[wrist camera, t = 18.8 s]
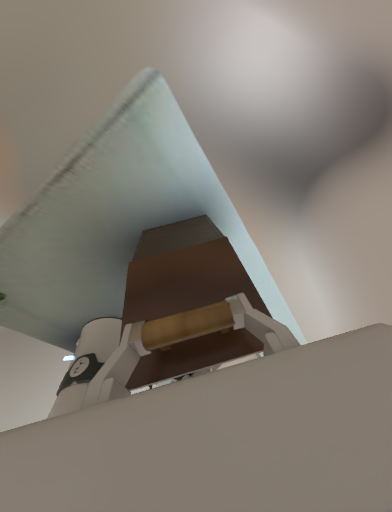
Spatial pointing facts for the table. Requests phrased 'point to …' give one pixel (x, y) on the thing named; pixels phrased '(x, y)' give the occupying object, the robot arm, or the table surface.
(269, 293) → the table surface
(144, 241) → the storage box
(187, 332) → the box lid
